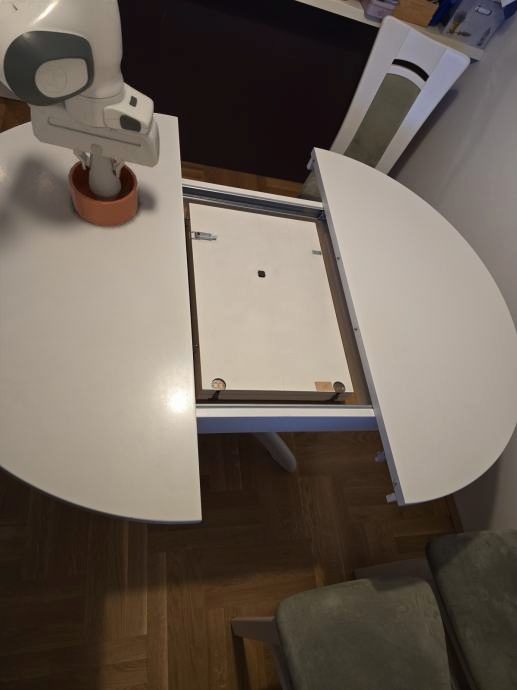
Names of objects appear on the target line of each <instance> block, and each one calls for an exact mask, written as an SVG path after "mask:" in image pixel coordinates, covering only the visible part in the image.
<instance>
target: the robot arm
mask: <svg viewBox="0 0 517 690" xmlns="http://www.w3.org/2000/svg"><path fill="white" fill-rule="evenodd" d="M119 9H120V8H119V4H118V0H0V82H1V83H2V85H4V86H5V87H6V88H7V89H8V90H9V91H11V92H12V94H13V95H15V96H16V97H17V98H18V99H20V100H21V101H22V102H24V103H26V104H27V105H28V107H29V108H30V122H31V128H32V133H33V136H34V137H35V138H36V139H37V141H39V142H40V143H43V144H46V145H47V144H48V145H52V146H57V147H61V148H65V149H68V150H72V152H73V154H74V156H75V157H76V158H77V159H78V160H79V161H81V162H82V166H83V169H84V170H89V171H90V170H91V162H90V156H88V154H90V153H91V154H95V153H93V152H92V150H91V148H90V147H91V144H96V145H100V146H101V147H102V149H103V153H102V154H95V155H99V156H104V157H108V158H113V159H116V163H114V166H113V169H112V171H113V174H114V176H116V177H120V172H121V168H122V167H123V166H124V164H125V165H126V162H127V163H131V164H135V165H140V166H144V167H147V168H154V167H156V166H157V165H159V160H160V153H161V139H160V130H159V126H158V123H157V120H156V118H155V117H154V111H155V110H154V109H155V108H154V107H155V105H154V104H155V103H154V101H153V100H152V99H151V98H150V97H148V96H147V95H146V94H144V93H142V92H140V91H138V90H137V89H135V88H133V87H131V86H130V85H129V84H127V83H126V82H125V81H124V77H123V76H124V75H123V74H122V70H121V61H122V59H123V35H122V23H121V15H120V10H119Z"/></svg>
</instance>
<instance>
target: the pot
mask: <svg viewBox="0 0 517 690" xmlns="http://www.w3.org/2000/svg"><path fill="white" fill-rule="evenodd" d="M113 161H114V163H116V159H113ZM67 178H68V185H69V189H70V193H71V199H72V202H73V203H72V204H73V207H74V209H75V211H76V212H77V214H78V215H79V216H80V217H81V218H82V219H84V220H86V221H87V222H89V223H91V224H92V225H93V224H94V225H97V226H102V227H116V226H120V225H123V224H126V223H127V222H129V221H130V220H132V219H133V218H134V217H135V215H136V213H137V211H138V205H139V191H138V190H139V189H138V187H139V186H138V185H139V183H138V179H137V175H136V174H135V172H134V171H133V169H132V168H131V167H129V166H128V165H127V164H126V163H125V164H124V166H123V167H122V168H121V172H120V177H119V179H120V183H121V190H120V192H119V194H118V196H117V198H116V199H115V200H112V201H110V202H106V201H102V200H99V199H98V198H97V197H96V195H95V194H94V193H93V192H92V190H91V189H90V186H89V170H84V169H83V166H82V162H81V161H80V160H79V161H77V162H75V164H73V166H71V168H70V170H69V173H68V176H67Z"/></svg>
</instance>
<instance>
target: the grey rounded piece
mask: <svg viewBox="0 0 517 690" xmlns="http://www.w3.org/2000/svg"><path fill="white" fill-rule="evenodd" d="M90 148H91V150H92V152H93V153H95V154H102V153H103V149H102V147H101V146H100V145H96V144H91V147H90ZM95 154H91V153H89V157H90V162H91V170H90V171H89V186H90V189H91V190H92V192H93V193H94V194H95V195H96V197H97V198H98V199H99V200H102V201H106V202H110V201H112V200H115V199H116V198H117V196H118V194H119V192H120V190H121V183H120V179H119V177H116V176H114V174H113V171H112V169H113V166H114V161H113V158H108V157H104V156H99V155H95Z"/></svg>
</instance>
